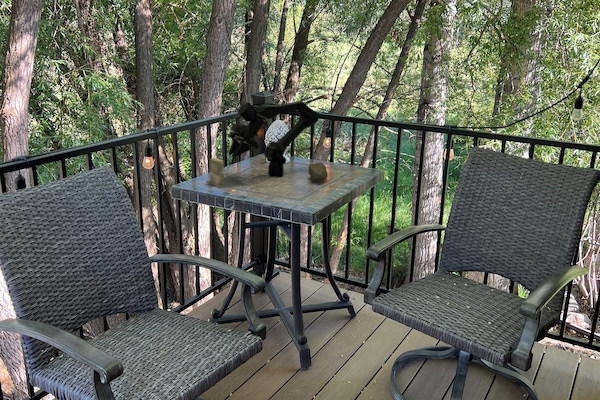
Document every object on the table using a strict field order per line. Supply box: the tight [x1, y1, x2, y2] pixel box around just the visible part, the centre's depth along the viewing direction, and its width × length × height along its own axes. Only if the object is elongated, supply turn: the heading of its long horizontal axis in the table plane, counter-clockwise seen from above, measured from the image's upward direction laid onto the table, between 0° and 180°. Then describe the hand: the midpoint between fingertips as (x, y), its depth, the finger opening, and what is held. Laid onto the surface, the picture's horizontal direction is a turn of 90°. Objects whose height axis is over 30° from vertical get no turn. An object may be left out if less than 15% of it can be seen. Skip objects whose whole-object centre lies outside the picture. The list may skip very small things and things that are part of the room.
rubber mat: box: [205, 176, 246, 190], centre depth 260 cm, size 13×14×1 cm
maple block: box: [209, 157, 225, 187], centre depth 256 cm, size 4×6×11 cm, turn 35°
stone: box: [308, 162, 328, 182], centre depth 266 cm, size 17×9×8 cm, turn 6°
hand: (231, 155), depth 258 cm, fingers open, 4 cm apart
